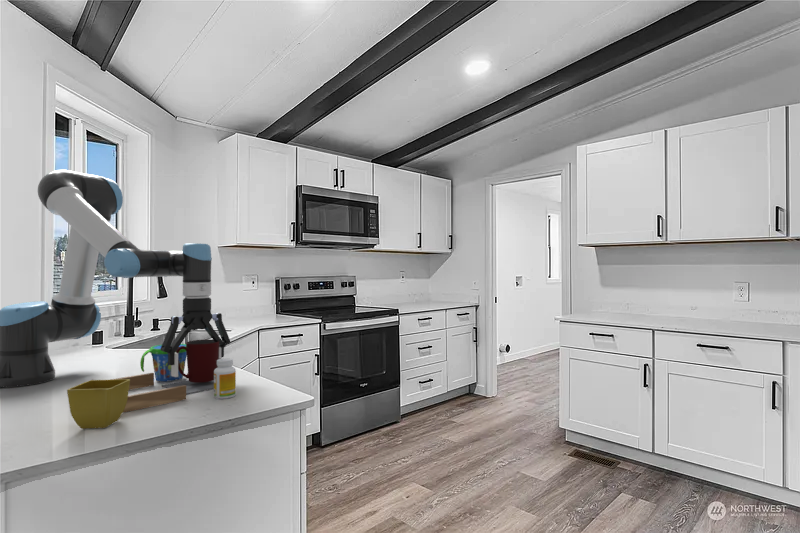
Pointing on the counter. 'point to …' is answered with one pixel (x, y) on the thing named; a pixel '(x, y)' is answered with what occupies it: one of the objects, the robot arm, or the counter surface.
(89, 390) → the flower pot
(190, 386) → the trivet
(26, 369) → the robot arm
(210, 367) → the mug
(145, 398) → the oak caddy
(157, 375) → the snack cup
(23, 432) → the counter surface
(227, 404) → the counter surface
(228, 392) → the supplement bottle
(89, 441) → the counter surface
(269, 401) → the counter surface
